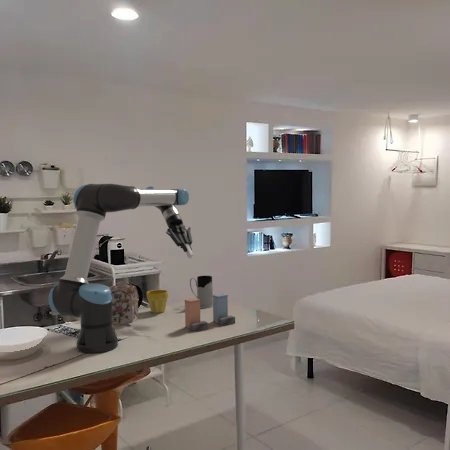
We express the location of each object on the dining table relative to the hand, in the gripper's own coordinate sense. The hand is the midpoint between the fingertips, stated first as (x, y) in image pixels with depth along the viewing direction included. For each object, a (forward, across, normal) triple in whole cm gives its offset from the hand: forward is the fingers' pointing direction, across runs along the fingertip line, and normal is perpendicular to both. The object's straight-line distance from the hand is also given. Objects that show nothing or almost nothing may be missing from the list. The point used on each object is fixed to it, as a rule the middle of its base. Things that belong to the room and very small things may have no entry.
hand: (190, 256), depth 221 cm
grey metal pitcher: (+10, -14, -30) cm, 34 cm away
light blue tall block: (+33, -3, -5) cm, 33 cm away
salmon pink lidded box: (+33, +11, -5) cm, 35 cm away
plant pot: (+8, +9, -32) cm, 34 cm away
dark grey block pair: (+34, +4, -6) cm, 34 cm away
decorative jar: (+13, +30, -27) cm, 43 cm away
